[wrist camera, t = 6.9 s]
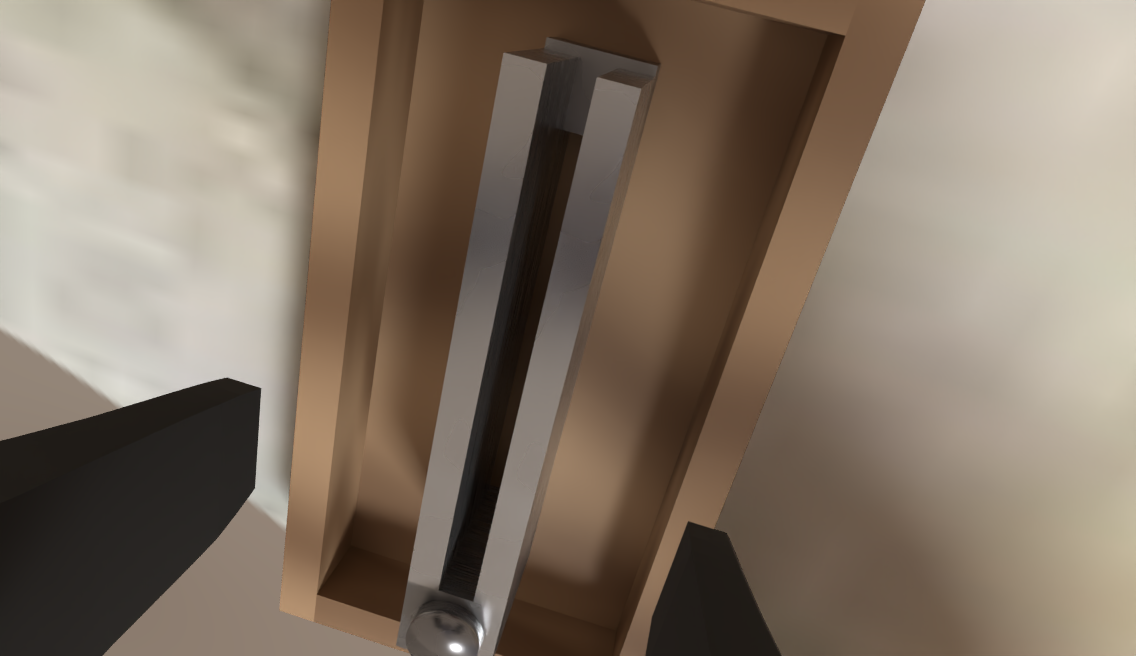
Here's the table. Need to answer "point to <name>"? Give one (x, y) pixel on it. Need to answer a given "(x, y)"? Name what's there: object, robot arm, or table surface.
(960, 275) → the table surface
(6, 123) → the table surface
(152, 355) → the table surface
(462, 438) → the slotted metal channel
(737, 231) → the wooden tray
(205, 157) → the table surface
